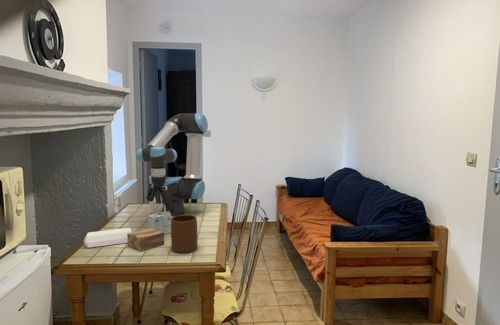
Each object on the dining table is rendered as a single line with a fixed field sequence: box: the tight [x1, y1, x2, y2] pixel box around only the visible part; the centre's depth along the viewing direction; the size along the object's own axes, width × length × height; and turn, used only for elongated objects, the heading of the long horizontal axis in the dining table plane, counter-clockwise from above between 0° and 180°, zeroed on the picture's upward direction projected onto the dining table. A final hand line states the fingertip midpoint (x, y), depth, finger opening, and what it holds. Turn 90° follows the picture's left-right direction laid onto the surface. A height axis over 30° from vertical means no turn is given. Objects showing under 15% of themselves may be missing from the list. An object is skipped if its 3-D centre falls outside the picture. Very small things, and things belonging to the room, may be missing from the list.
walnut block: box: [127, 227, 165, 252], centre depth 189 cm, size 12×13×6 cm
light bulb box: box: [147, 211, 172, 235], centre depth 207 cm, size 11×7×11 cm, turn 134°
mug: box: [170, 212, 198, 254], centre depth 187 cm, size 20×12×15 cm, turn 3°
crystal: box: [83, 227, 133, 249], centre depth 192 cm, size 7×7×24 cm
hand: (159, 214), depth 206 cm, fingers open, 13 cm apart
